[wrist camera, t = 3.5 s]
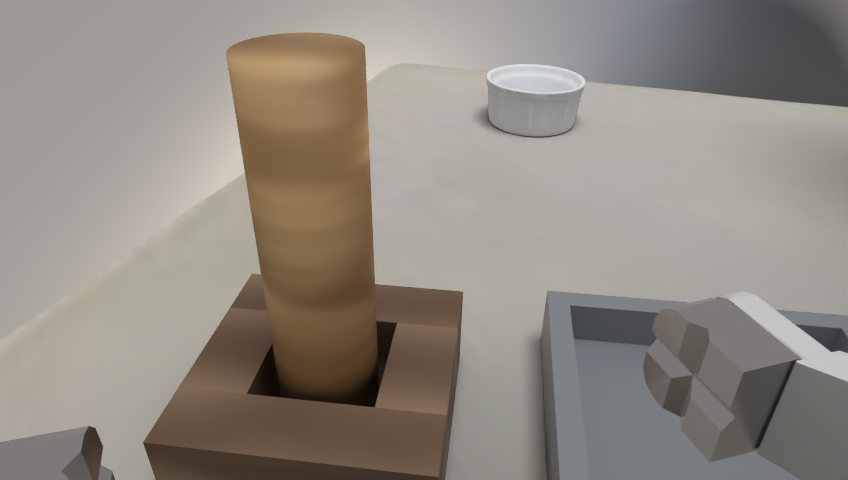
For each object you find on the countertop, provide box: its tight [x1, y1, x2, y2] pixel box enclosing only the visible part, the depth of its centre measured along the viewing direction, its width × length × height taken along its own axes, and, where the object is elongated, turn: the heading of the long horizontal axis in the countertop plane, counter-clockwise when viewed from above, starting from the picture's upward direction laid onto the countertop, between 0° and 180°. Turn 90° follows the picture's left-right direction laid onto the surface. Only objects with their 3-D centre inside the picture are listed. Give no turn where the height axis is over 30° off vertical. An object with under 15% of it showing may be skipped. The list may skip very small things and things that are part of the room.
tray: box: [541, 291, 848, 480], centre depth 24 cm, size 14×14×3 cm
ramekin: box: [486, 64, 586, 137], centre depth 57 cm, size 9×9×4 cm
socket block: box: [143, 274, 463, 480], centre depth 25 cm, size 10×10×4 cm
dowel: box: [226, 33, 379, 407], centre depth 22 cm, size 4×4×16 cm
